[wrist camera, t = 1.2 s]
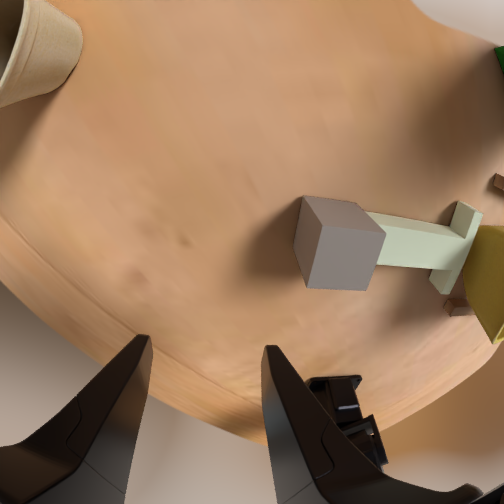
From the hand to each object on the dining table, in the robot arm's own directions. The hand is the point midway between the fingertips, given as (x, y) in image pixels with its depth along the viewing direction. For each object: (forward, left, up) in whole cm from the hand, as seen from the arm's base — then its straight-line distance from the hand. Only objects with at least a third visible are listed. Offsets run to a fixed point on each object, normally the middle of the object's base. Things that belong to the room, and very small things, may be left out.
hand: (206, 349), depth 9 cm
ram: (0, -13, -12) cm, 18 cm away
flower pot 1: (+12, +14, -12) cm, 22 cm away
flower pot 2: (0, -26, -12) cm, 29 cm away
